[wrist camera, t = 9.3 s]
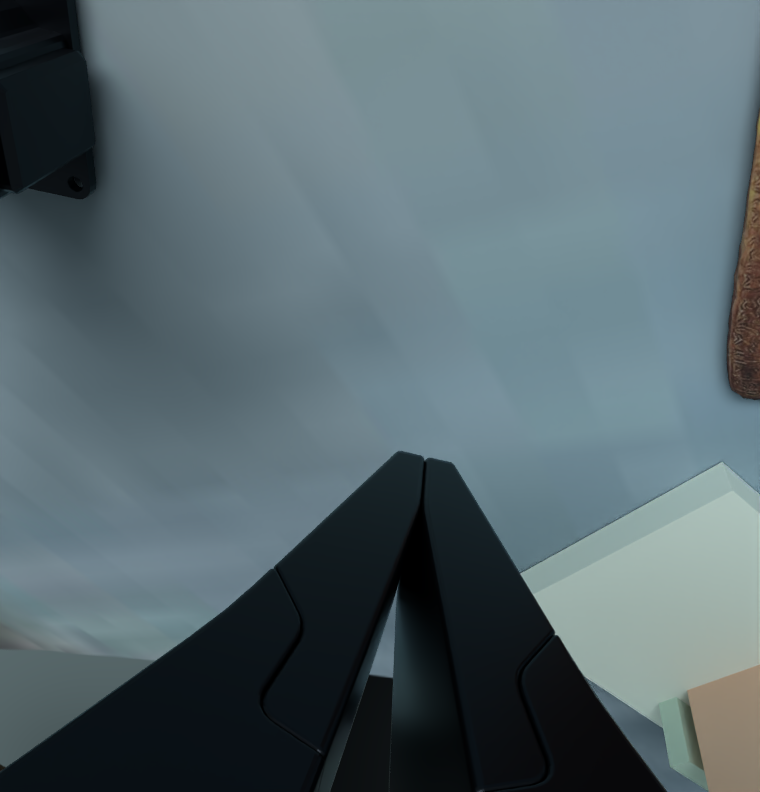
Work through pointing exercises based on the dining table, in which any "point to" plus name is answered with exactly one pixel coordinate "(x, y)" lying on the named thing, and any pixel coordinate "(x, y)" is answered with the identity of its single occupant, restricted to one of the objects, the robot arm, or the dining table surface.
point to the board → (663, 602)
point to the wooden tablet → (747, 296)
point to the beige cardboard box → (729, 730)
